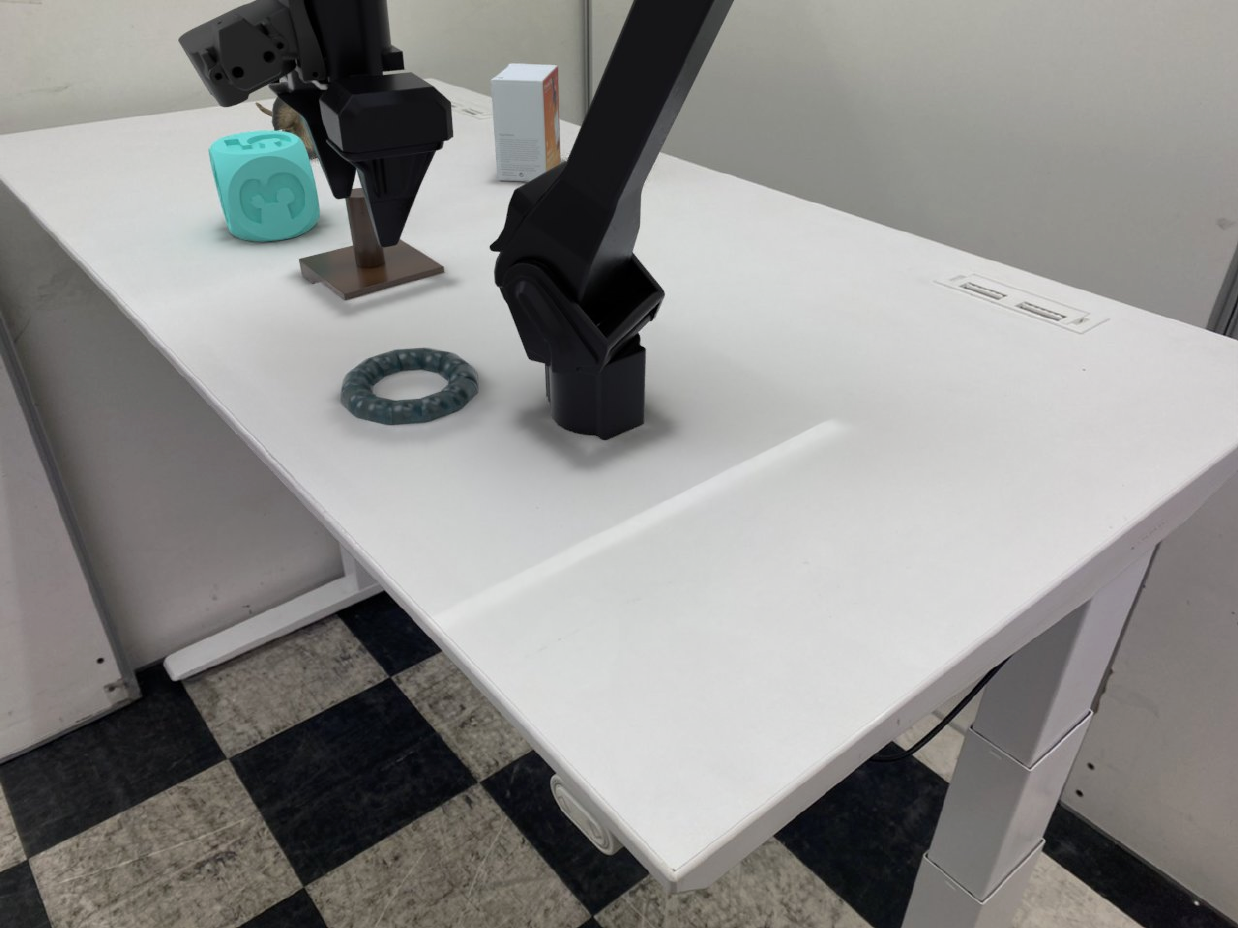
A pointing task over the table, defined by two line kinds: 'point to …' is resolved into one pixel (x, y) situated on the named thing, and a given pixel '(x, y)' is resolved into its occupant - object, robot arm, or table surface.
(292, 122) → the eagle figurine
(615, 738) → the table surface
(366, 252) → the stand
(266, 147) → the decorative dice
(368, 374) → the ring
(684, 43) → the robot arm
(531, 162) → the small box
